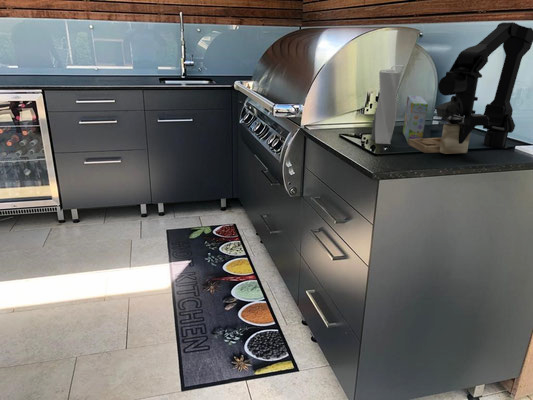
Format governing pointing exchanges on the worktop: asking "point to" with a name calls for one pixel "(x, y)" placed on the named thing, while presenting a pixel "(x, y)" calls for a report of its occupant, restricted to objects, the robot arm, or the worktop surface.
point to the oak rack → (423, 147)
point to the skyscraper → (386, 106)
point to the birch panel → (452, 140)
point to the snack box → (415, 117)
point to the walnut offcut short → (426, 143)
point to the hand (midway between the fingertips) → (457, 142)
